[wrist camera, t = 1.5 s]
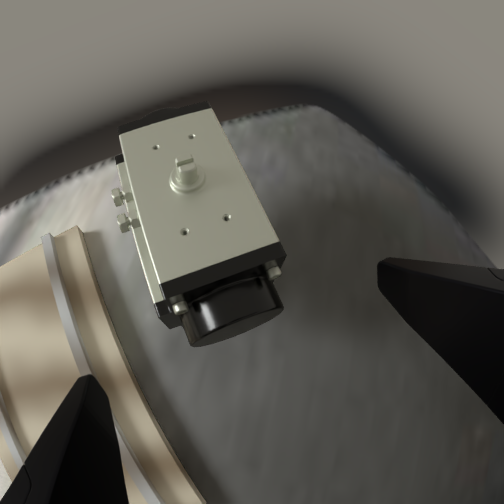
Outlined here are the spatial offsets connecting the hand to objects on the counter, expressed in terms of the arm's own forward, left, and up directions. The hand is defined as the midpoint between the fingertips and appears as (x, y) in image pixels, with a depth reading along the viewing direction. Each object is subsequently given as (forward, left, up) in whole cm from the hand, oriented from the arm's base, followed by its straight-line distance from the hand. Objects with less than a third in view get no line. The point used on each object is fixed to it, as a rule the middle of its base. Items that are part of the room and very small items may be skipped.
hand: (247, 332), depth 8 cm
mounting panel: (+3, +13, -13) cm, 19 cm away
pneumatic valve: (+7, -1, -13) cm, 15 cm away
